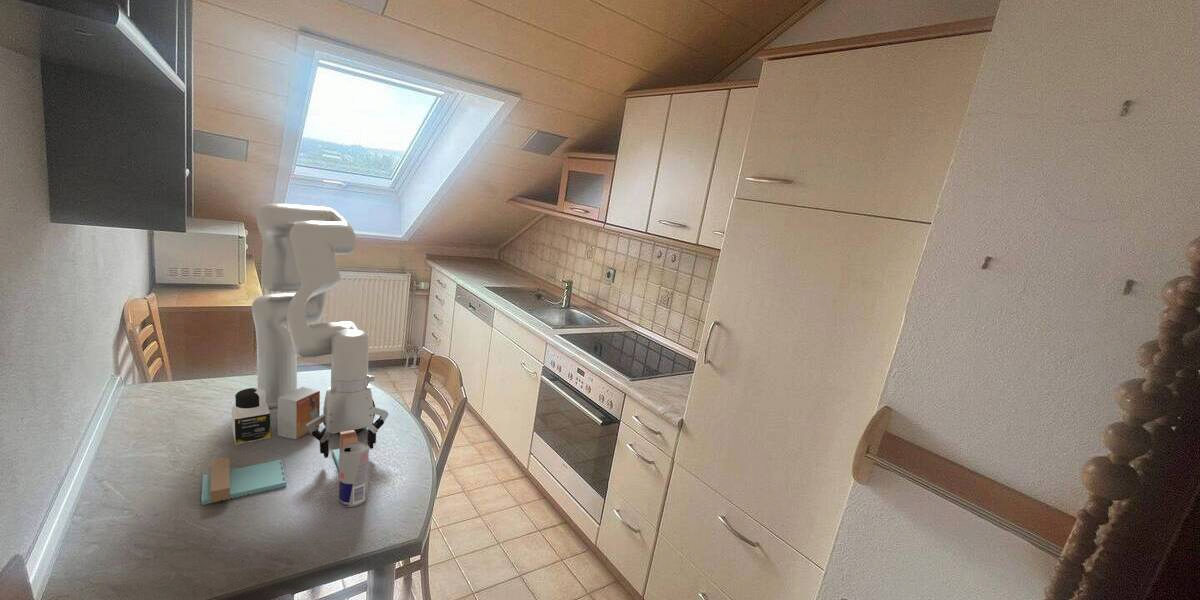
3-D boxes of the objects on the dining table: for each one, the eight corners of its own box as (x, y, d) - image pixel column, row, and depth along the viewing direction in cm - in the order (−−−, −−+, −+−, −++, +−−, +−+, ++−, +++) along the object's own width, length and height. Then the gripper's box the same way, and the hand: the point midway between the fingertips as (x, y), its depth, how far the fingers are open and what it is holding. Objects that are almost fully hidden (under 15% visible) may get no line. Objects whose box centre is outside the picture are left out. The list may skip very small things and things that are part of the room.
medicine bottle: (235, 445, 115) (233, 398, 113) (232, 432, 121) (231, 388, 118) (271, 438, 120) (270, 393, 118) (266, 426, 125) (265, 383, 123)
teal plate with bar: (203, 475, 103) (202, 461, 102) (281, 460, 112) (281, 447, 111) (201, 509, 93) (200, 493, 92) (286, 490, 102) (286, 475, 101)
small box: (296, 440, 121) (295, 401, 119) (277, 436, 122) (276, 397, 120) (320, 427, 128) (320, 390, 126) (302, 422, 129) (302, 386, 127)
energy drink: (340, 494, 102) (340, 442, 100) (368, 490, 105) (369, 440, 102) (337, 509, 98) (338, 455, 95) (366, 505, 100) (368, 453, 97)
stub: (332, 453, 117) (332, 427, 115) (355, 449, 120) (355, 423, 119) (340, 474, 109) (340, 446, 108) (364, 469, 112) (364, 441, 111)
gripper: (385, 372, 119) (383, 436, 122) (303, 382, 108) (303, 451, 112) (393, 383, 113) (391, 449, 116) (308, 394, 102) (308, 467, 106)
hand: (348, 450), depth 114 cm, fingers open, 9 cm apart
